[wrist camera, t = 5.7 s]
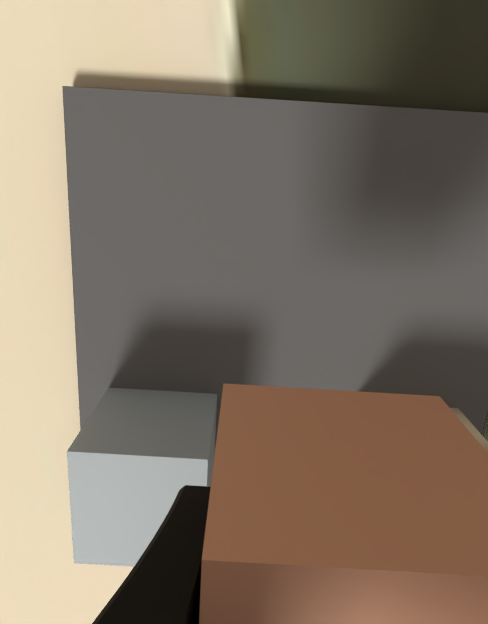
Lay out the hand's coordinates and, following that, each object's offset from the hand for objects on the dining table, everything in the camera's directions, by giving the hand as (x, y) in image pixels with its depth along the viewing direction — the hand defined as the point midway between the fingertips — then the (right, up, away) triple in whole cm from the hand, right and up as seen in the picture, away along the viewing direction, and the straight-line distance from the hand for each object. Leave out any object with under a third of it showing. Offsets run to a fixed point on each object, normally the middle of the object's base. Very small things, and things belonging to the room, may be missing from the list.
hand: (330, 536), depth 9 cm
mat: (0, +3, +10) cm, 10 cm away
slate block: (-5, -1, +11) cm, 12 cm away
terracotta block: (0, +1, +1) cm, 1 cm away
